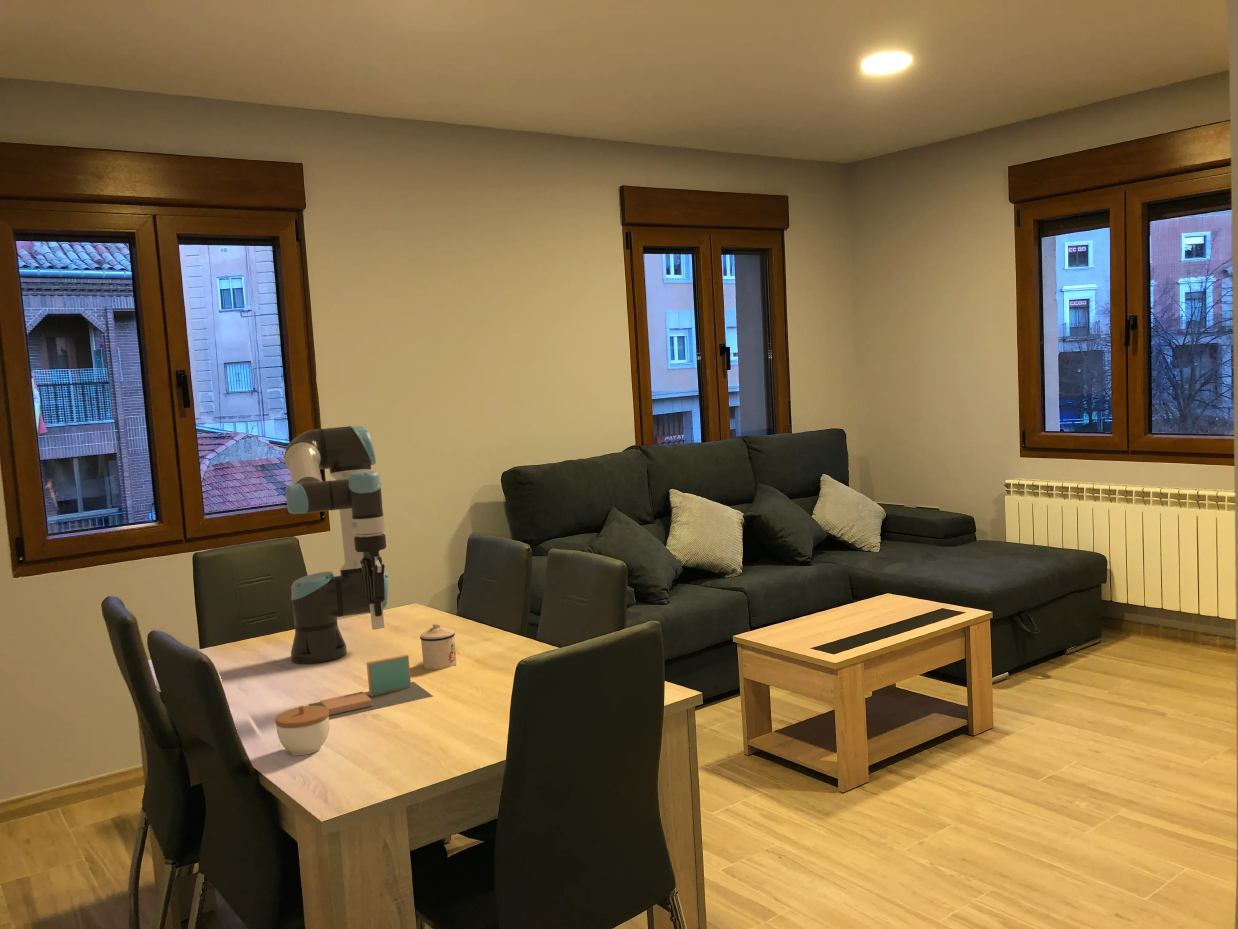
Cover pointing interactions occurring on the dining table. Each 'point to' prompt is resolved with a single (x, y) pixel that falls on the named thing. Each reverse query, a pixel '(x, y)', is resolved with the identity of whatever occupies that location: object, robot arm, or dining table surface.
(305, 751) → the lidded jar
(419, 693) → the mat
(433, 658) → the teacup with lid
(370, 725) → the dining table surface
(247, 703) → the dining table surface
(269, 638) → the dining table surface
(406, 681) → the tile far
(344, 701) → the tile near
